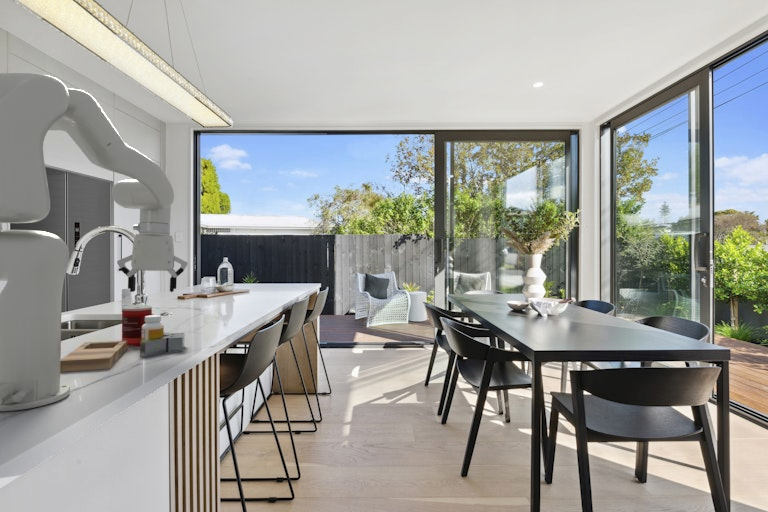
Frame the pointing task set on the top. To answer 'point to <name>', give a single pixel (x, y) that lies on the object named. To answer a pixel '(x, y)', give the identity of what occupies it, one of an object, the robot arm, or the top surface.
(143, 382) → the top surface
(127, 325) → the canned food
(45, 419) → the top surface
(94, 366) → the wooden board with cutout
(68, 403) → the top surface
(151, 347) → the v block
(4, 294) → the robot arm
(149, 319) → the supplement bottle
